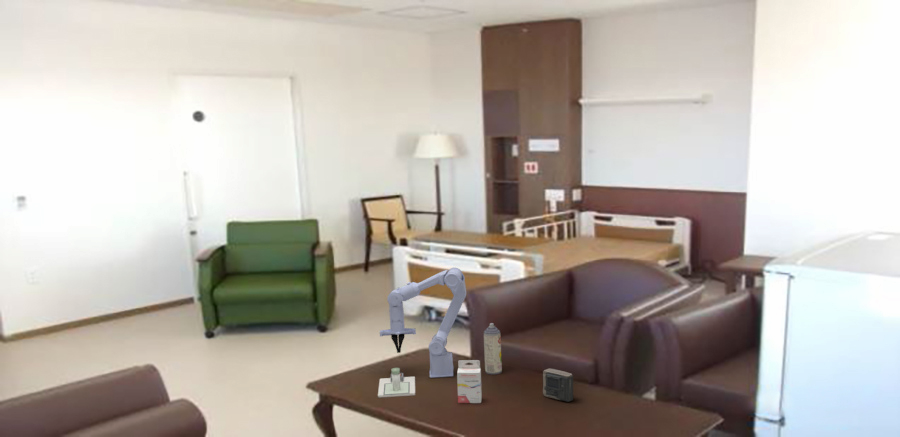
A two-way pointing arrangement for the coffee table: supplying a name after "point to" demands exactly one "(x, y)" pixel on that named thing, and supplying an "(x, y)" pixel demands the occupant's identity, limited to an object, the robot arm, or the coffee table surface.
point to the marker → (396, 379)
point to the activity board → (406, 390)
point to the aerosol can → (492, 350)
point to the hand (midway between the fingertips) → (398, 351)
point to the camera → (558, 384)
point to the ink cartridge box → (469, 382)
